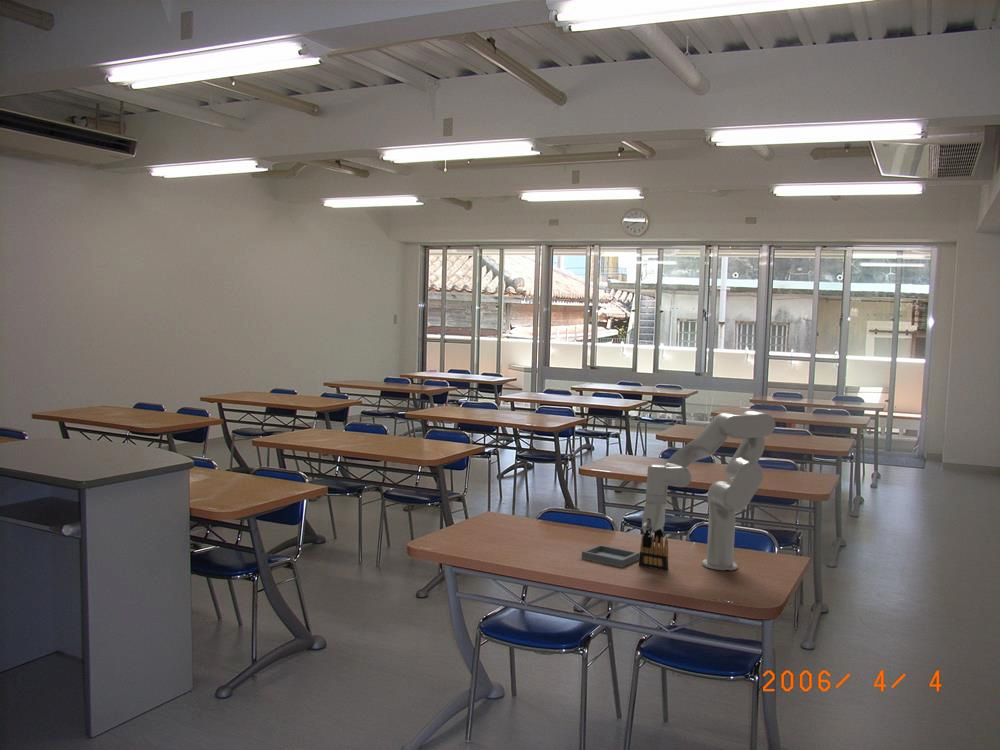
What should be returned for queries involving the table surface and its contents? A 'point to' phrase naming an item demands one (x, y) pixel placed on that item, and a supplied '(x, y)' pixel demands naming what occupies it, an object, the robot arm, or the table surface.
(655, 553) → the ammunition clip
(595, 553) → the holder tray
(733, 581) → the table surface
